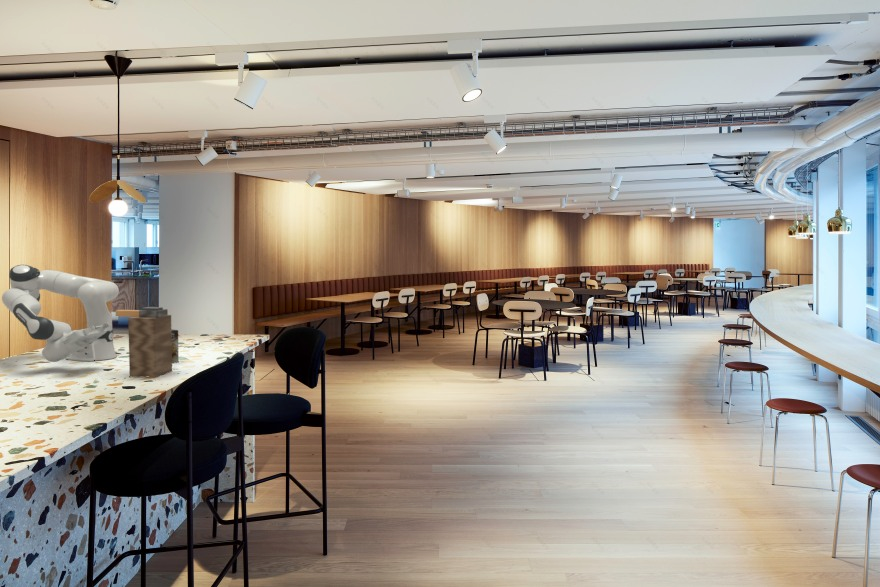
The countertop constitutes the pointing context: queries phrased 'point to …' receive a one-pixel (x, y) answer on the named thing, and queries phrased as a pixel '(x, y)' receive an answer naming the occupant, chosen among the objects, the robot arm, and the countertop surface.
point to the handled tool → (136, 311)
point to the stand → (150, 343)
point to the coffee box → (174, 346)
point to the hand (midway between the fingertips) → (101, 325)
